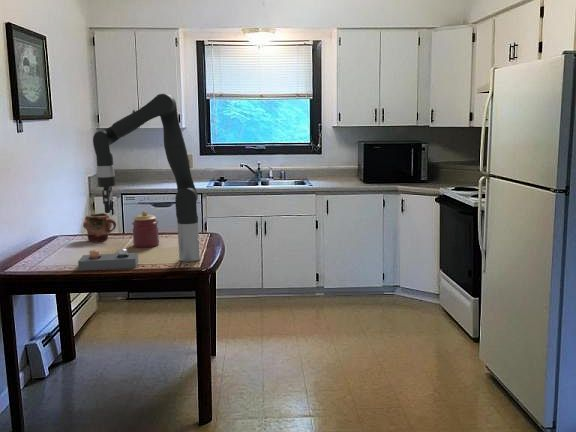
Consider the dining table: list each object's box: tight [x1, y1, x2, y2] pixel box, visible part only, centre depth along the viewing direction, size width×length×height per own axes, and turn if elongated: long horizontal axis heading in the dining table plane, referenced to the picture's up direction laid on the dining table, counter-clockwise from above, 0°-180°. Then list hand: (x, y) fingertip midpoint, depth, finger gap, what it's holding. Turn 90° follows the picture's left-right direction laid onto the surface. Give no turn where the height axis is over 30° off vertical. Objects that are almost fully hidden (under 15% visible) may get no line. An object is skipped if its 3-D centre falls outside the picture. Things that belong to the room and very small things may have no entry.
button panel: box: [77, 252, 139, 271], centre depth 273 cm, size 24×12×4 cm, turn 98°
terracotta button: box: [89, 249, 100, 259], centre depth 271 cm, size 4×4×3 cm
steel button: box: [117, 248, 128, 257], centre depth 273 cm, size 4×4×3 cm
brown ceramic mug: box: [82, 212, 117, 243], centre depth 327 cm, size 20×12×14 cm, turn 76°
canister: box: [131, 210, 160, 249], centre depth 312 cm, size 13×13×18 cm
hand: (108, 211), depth 278 cm, fingers open, 8 cm apart
